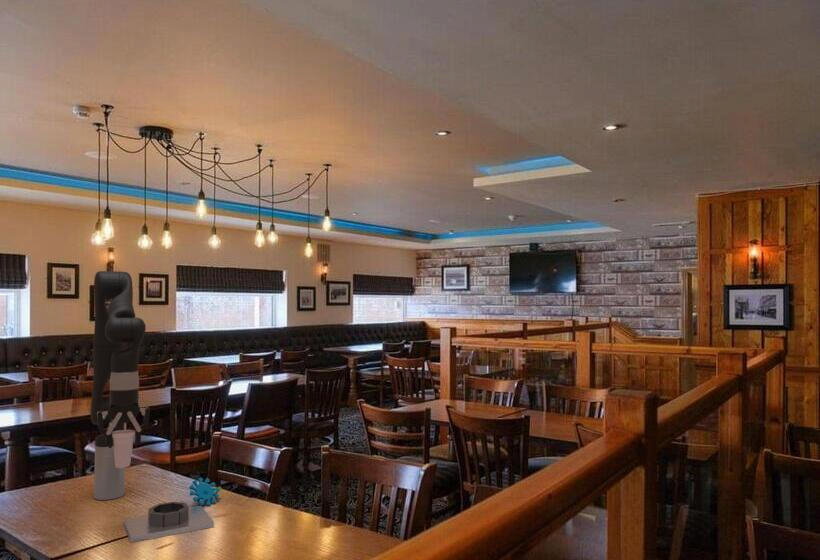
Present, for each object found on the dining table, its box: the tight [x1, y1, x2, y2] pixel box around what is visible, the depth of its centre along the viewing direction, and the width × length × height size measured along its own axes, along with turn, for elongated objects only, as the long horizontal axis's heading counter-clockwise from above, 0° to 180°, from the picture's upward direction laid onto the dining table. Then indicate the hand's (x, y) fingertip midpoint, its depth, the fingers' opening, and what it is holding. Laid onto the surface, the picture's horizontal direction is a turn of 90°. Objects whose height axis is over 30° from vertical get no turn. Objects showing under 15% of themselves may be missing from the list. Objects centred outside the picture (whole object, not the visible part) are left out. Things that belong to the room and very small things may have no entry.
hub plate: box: [122, 501, 215, 544], centre depth 176 cm, size 16×22×5 cm
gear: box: [188, 477, 222, 507], centre depth 196 cm, size 11×6×10 cm
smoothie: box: [111, 423, 136, 469], centre depth 173 cm, size 6×6×14 cm
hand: (123, 446), depth 173 cm, fingers closed on smoothie, 6 cm apart
